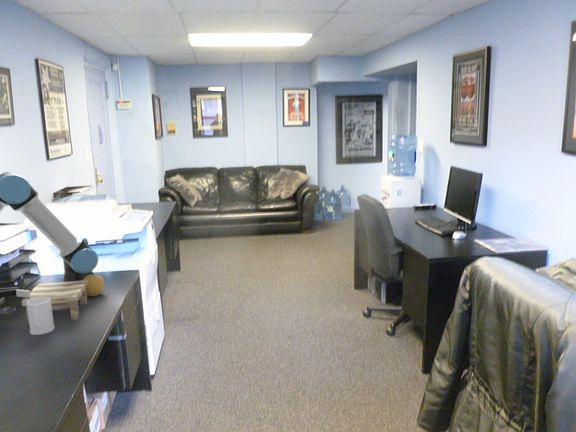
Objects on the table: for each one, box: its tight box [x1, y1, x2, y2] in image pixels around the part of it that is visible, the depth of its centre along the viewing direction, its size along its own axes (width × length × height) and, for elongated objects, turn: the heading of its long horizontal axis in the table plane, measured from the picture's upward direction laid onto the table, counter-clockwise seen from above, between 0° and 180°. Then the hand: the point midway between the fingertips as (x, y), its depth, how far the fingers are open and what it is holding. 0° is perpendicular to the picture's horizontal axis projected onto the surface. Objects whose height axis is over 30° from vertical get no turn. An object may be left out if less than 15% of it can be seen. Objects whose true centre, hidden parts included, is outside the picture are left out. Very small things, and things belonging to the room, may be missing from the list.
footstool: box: [21, 280, 88, 325], centre depth 192 cm, size 20×20×10 cm
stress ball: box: [83, 273, 106, 298], centre depth 210 cm, size 10×10×10 cm
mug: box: [26, 297, 56, 336], centre depth 174 cm, size 12×8×12 cm
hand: (14, 300), depth 176 cm, fingers open, 13 cm apart
